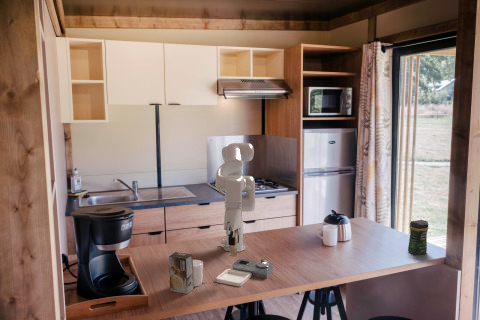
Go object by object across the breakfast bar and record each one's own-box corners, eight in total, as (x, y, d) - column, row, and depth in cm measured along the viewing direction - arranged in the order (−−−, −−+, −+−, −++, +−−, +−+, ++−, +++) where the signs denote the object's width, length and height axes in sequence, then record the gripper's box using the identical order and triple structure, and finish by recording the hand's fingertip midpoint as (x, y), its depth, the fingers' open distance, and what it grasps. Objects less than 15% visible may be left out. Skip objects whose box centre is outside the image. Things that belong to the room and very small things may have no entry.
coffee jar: (416, 256, 222) (418, 223, 220) (405, 251, 229) (407, 219, 227) (429, 253, 226) (431, 221, 224) (417, 249, 233) (419, 217, 231)
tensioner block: (232, 273, 199) (232, 258, 198) (239, 267, 206) (239, 252, 205) (267, 280, 191) (267, 264, 190) (273, 274, 198) (273, 258, 197)
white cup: (186, 280, 191) (186, 260, 190) (203, 279, 192) (203, 259, 191) (185, 287, 184) (185, 266, 182) (203, 286, 184) (203, 265, 183)
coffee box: (194, 288, 183) (193, 254, 181) (187, 294, 177) (186, 259, 175) (176, 285, 186) (175, 251, 184) (169, 291, 180) (168, 256, 178)
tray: (215, 283, 188) (215, 278, 187) (227, 273, 199) (227, 268, 199) (240, 288, 182) (240, 283, 182) (252, 277, 194) (252, 272, 194)
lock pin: (228, 255, 188) (228, 230, 187) (232, 253, 191) (232, 228, 190) (235, 257, 187) (235, 231, 185) (238, 254, 190) (238, 229, 188)
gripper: (234, 200, 195) (234, 237, 197) (217, 208, 180) (218, 248, 182) (248, 202, 192) (248, 239, 194) (232, 209, 177) (233, 250, 179)
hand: (233, 243), depth 188 cm, fingers closed on lock pin, 3 cm apart
